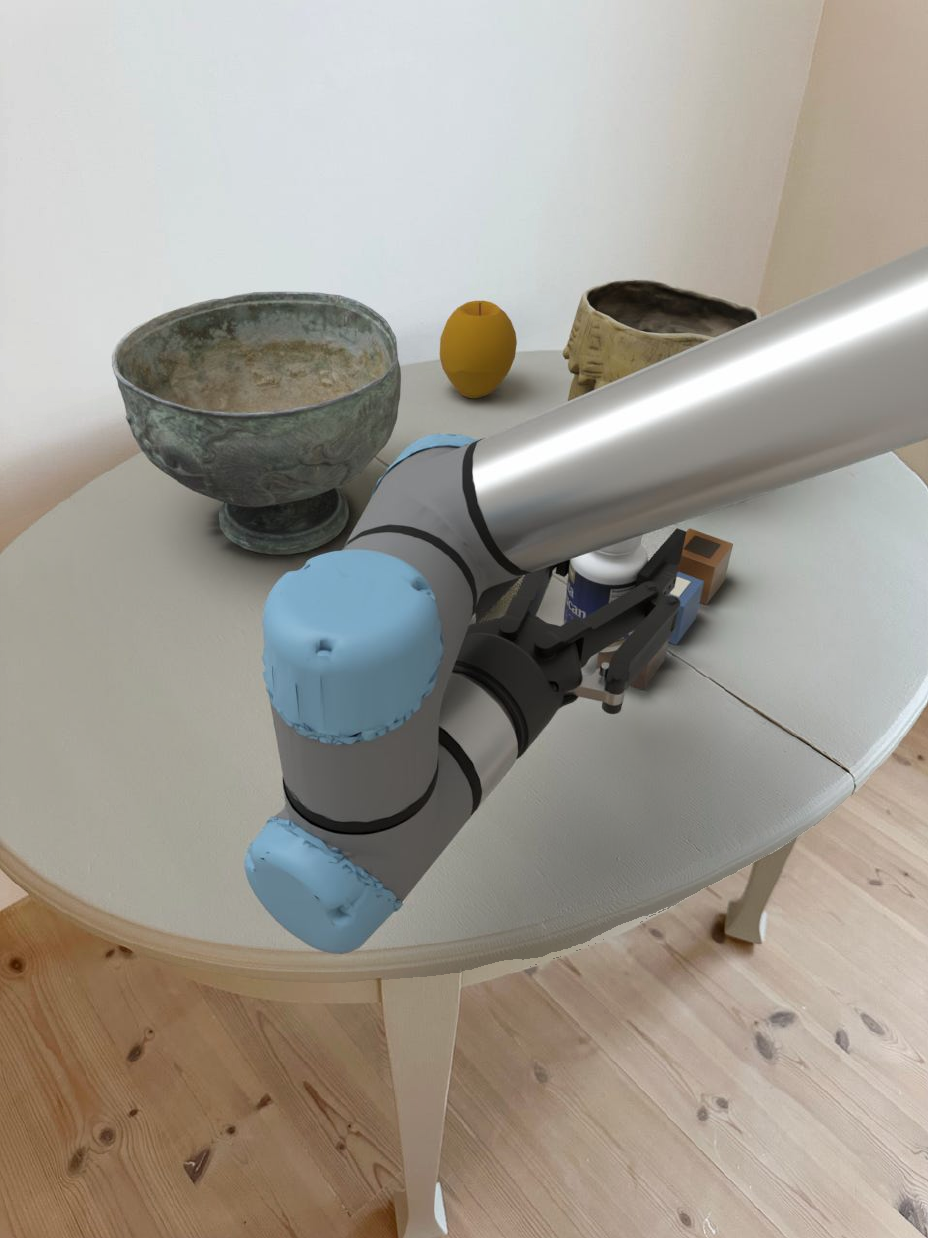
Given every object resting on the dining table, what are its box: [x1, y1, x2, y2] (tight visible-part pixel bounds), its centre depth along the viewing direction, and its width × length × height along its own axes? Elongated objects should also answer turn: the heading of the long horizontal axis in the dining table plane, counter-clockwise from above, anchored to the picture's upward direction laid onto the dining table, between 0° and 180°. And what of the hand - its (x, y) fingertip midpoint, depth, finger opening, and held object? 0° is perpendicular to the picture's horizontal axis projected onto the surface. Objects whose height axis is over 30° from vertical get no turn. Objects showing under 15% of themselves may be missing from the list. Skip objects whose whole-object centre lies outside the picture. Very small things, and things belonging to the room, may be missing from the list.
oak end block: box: [677, 528, 734, 605], centre depth 91 cm, size 4×4×5 cm
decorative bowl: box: [111, 291, 402, 555], centre depth 94 cm, size 26×26×20 cm
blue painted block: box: [668, 572, 704, 646], centre depth 87 cm, size 4×4×5 cm
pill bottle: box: [562, 535, 649, 652], centre depth 68 cm, size 5×5×10 cm
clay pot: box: [562, 278, 763, 402], centre depth 102 cm, size 21×21×20 cm
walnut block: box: [595, 639, 669, 691], centre depth 82 cm, size 4×4×5 cm
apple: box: [439, 300, 518, 399], centre depth 119 cm, size 10×10×12 cm
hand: (639, 531), depth 71 cm, fingers closed on pill bottle, 5 cm apart
